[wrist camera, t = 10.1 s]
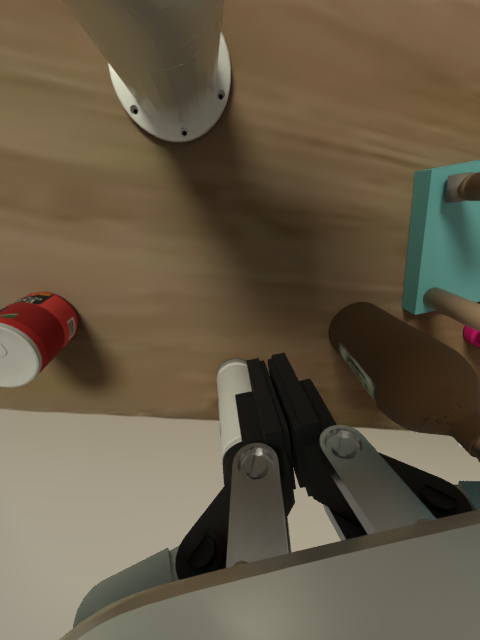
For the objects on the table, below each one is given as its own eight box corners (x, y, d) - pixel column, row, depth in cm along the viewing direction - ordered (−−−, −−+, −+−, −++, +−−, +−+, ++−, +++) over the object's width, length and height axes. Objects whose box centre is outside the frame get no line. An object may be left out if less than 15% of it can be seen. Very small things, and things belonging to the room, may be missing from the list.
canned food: (50, 279, 37) (-7, 310, 27) (92, 324, 40) (55, 367, 30) (7, 308, 38) (-64, 348, 28) (52, 349, 41) (3, 399, 31)
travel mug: (261, 368, 47) (297, 477, 29) (237, 394, 49) (257, 512, 30) (233, 350, 45) (252, 455, 27) (209, 377, 46) (211, 494, 28)
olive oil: (367, 284, 43) (550, 385, 20) (396, 328, 47) (576, 453, 24) (312, 327, 45) (422, 462, 22) (345, 366, 49) (466, 513, 26)
